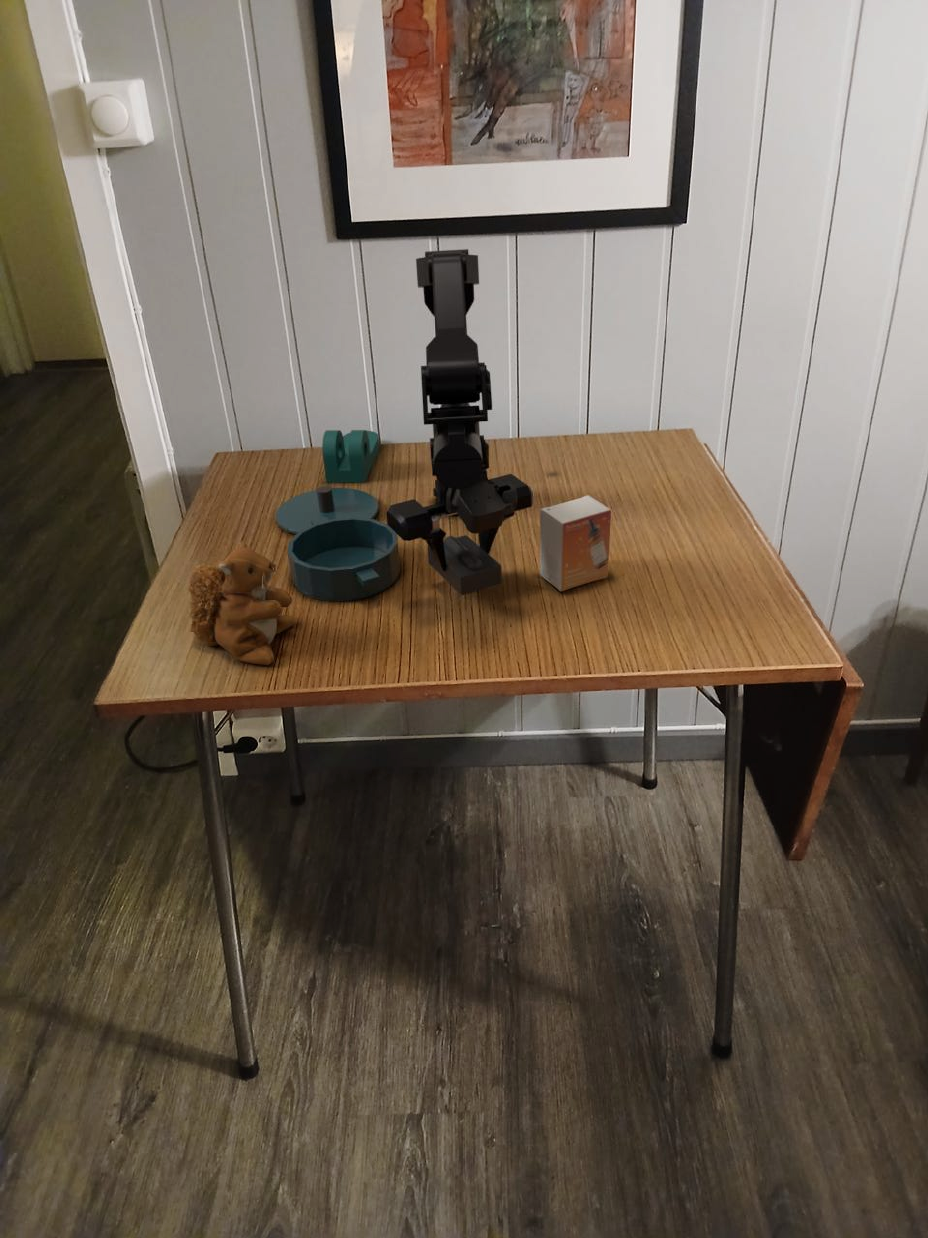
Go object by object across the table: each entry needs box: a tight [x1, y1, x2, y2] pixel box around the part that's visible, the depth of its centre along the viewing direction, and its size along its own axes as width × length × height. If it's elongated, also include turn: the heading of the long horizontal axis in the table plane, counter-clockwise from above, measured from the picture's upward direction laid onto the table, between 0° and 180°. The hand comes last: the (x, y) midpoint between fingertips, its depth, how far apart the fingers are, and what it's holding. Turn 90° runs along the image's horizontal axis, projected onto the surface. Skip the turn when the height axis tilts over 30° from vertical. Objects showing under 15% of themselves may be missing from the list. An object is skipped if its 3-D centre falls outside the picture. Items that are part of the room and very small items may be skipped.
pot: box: [286, 517, 401, 602], centre depth 132 cm, size 15×21×5 cm
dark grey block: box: [427, 534, 503, 597], centre depth 124 cm, size 6×10×4 cm, turn 27°
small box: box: [539, 494, 612, 592], centre depth 127 cm, size 8×6×10 cm
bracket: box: [321, 429, 381, 483], centre depth 165 cm, size 18×7×8 cm, turn 174°
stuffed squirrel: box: [188, 541, 295, 666], centre depth 117 cm, size 10×14×13 cm
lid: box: [275, 485, 379, 535], centre depth 148 cm, size 16×16×5 cm
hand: (463, 563), depth 125 cm, fingers closed on dark grey block, 6 cm apart
